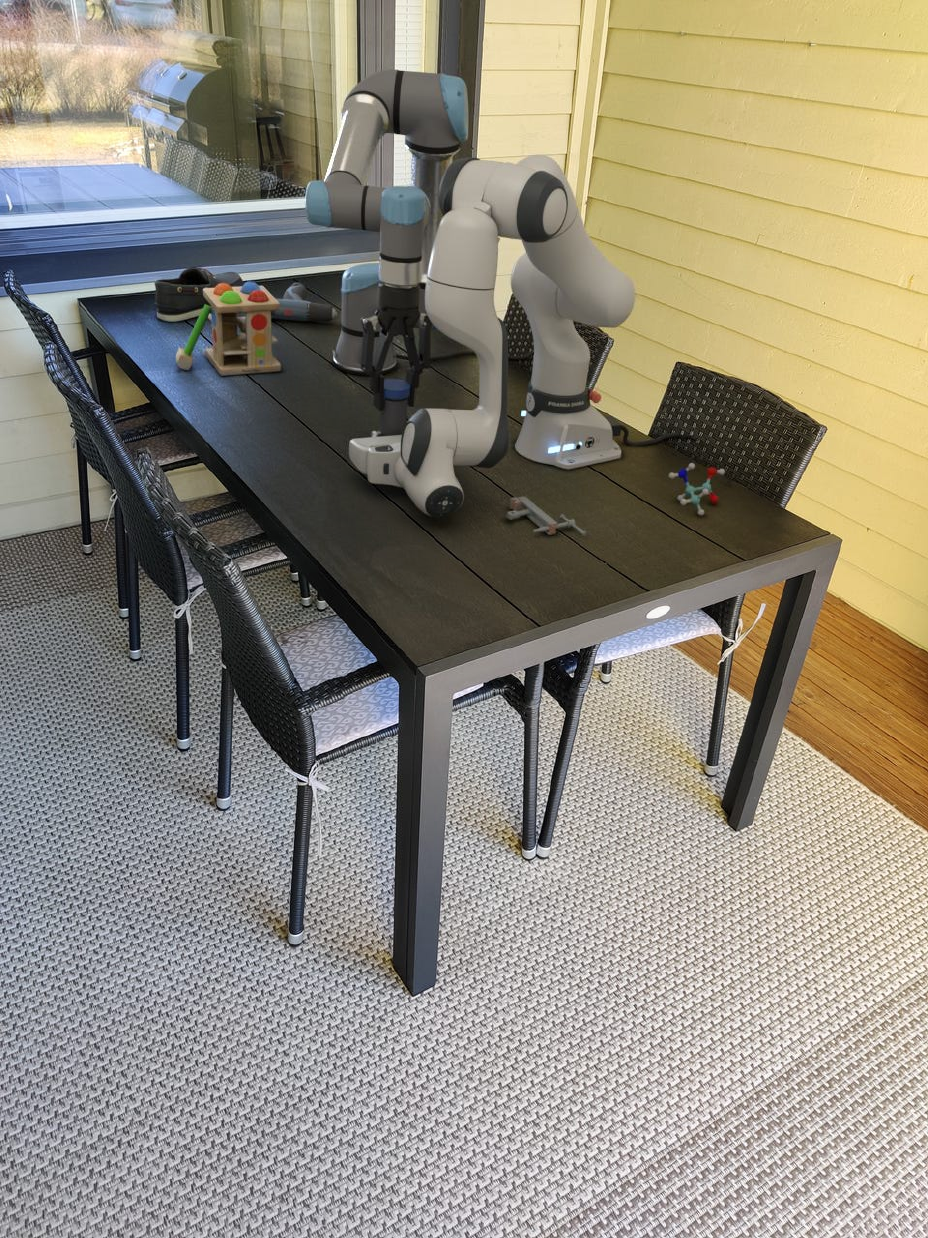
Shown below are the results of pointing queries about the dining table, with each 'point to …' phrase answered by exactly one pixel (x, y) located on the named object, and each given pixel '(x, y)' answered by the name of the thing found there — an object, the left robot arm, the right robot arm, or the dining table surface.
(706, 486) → the molecular model
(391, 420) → the jar
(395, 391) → the lid
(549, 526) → the clamp
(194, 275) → the boat shoe
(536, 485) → the dining table surface
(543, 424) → the right robot arm
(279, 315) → the power drill
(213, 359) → the pounding bench toy
